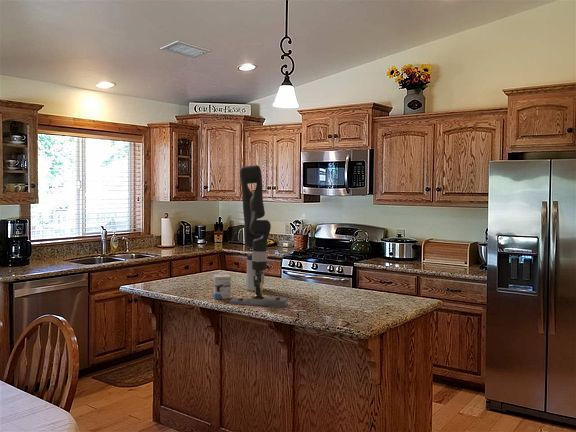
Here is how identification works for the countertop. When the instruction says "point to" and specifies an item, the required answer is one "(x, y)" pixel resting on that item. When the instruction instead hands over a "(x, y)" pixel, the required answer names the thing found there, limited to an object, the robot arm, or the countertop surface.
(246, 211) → the robot arm
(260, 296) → the link pin
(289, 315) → the countertop surface
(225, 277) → the ink box
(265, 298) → the link plates
